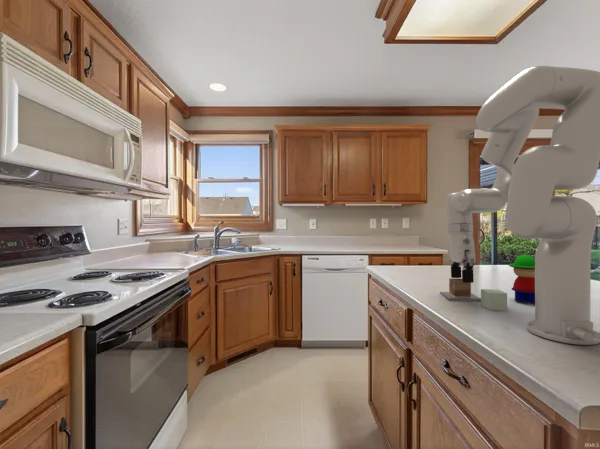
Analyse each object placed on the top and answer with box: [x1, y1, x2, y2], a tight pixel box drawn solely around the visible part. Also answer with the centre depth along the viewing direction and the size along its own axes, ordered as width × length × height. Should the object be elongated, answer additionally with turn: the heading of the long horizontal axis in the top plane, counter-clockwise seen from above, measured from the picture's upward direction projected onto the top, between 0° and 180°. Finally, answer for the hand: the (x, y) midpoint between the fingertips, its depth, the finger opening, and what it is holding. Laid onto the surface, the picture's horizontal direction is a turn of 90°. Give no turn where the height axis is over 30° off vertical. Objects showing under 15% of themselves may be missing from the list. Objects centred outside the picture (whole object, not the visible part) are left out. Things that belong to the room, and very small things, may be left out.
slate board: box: [439, 291, 481, 302], centre depth 101 cm, size 9×10×1 cm
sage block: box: [480, 288, 508, 311], centre depth 90 cm, size 5×5×5 cm
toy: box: [508, 254, 535, 305], centre depth 96 cm, size 9×9×15 cm
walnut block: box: [448, 277, 472, 297], centre depth 101 cm, size 5×5×5 cm
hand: (461, 280), depth 100 cm, fingers open, 9 cm apart
